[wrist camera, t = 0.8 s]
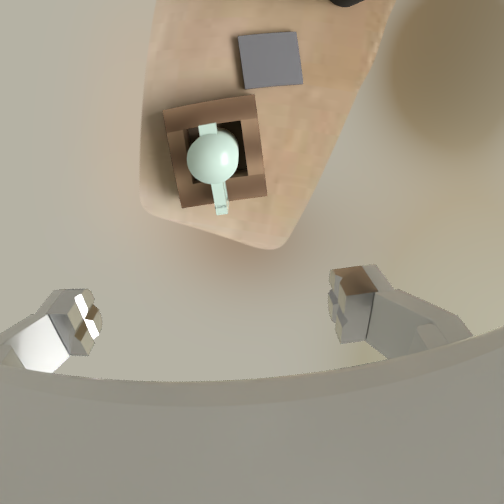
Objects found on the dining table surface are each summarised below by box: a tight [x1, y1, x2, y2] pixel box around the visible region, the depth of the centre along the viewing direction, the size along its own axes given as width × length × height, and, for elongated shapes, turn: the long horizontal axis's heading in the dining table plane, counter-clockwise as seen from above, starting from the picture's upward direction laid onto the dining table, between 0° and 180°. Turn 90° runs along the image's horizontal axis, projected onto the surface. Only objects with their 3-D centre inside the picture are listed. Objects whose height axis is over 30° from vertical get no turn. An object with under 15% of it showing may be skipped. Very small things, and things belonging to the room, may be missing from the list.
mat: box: [238, 32, 303, 89], centre depth 35 cm, size 8×8×1 cm
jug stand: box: [162, 94, 267, 208], centre depth 40 cm, size 14×12×4 cm
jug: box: [187, 122, 239, 215], centre depth 38 cm, size 11×6×9 cm, turn 7°
